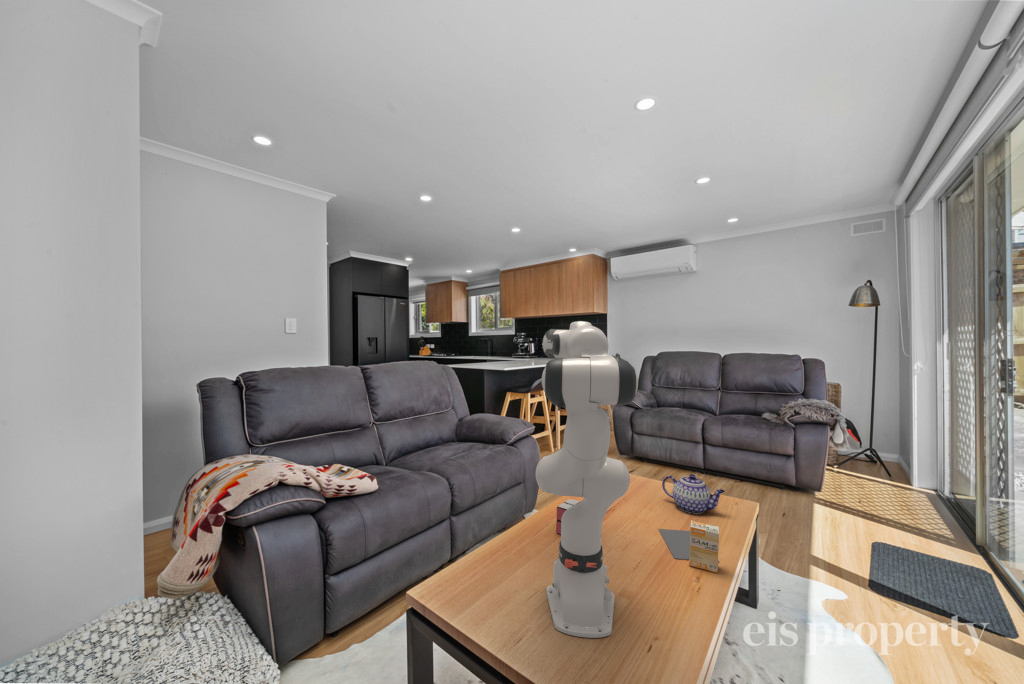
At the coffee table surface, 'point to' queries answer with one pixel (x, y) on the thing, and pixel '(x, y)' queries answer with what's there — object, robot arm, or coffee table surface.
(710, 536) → the supplement box
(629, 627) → the coffee table surface
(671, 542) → the mat
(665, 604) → the coffee table surface
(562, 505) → the puzzle cube
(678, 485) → the teapot
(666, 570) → the coffee table surface
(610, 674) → the coffee table surface
